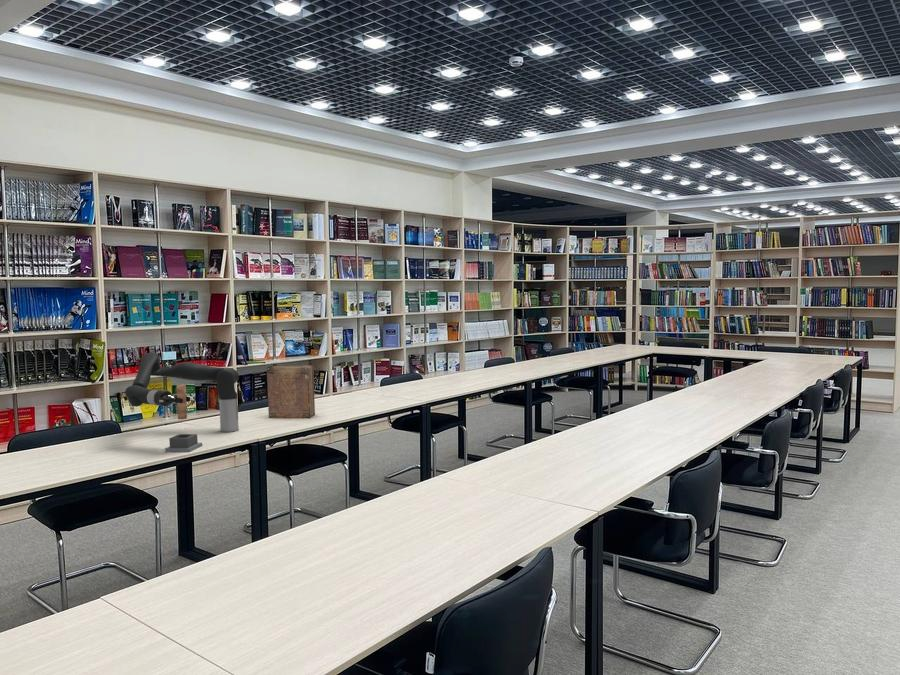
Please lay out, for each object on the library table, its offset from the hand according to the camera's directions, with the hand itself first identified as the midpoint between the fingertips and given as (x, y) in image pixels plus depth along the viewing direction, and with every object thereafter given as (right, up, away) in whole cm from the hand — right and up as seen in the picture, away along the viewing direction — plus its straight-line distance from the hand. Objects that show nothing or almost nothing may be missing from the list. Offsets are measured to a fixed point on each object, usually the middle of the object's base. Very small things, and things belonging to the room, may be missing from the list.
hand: (185, 400), depth 300 cm
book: (+31, -18, +78) cm, 85 cm away
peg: (-2, -9, +2) cm, 9 cm away
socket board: (-2, -23, +3) cm, 24 cm away
